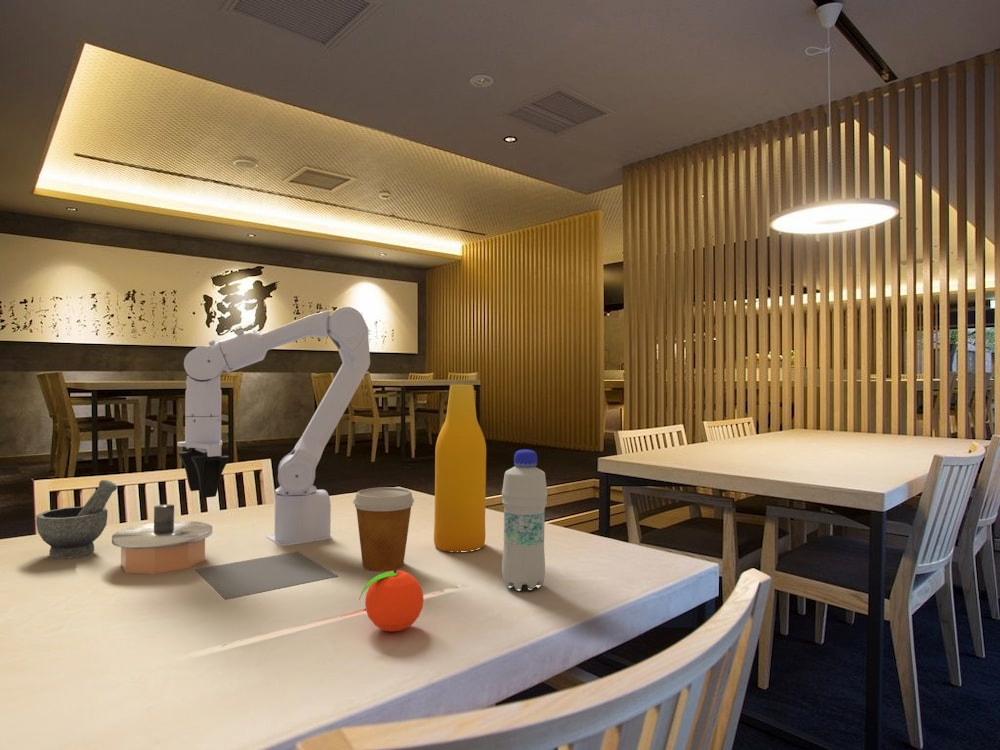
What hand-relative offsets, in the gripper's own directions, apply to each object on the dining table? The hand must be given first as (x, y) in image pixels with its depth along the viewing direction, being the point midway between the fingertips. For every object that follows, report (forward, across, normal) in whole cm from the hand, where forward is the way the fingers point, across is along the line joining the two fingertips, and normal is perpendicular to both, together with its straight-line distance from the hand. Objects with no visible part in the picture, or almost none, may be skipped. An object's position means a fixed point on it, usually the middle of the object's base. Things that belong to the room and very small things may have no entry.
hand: (202, 493), depth 108 cm
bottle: (+10, +50, +31) cm, 59 cm away
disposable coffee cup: (+10, +30, +19) cm, 37 cm away
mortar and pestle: (+10, -9, -17) cm, 22 cm away
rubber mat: (+9, +22, +3) cm, 24 cm away
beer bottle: (+10, +27, +36) cm, 46 cm away
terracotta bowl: (+9, +7, -8) cm, 14 cm away
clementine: (+10, +51, +8) cm, 53 cm away
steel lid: (+5, +7, -8) cm, 11 cm away
